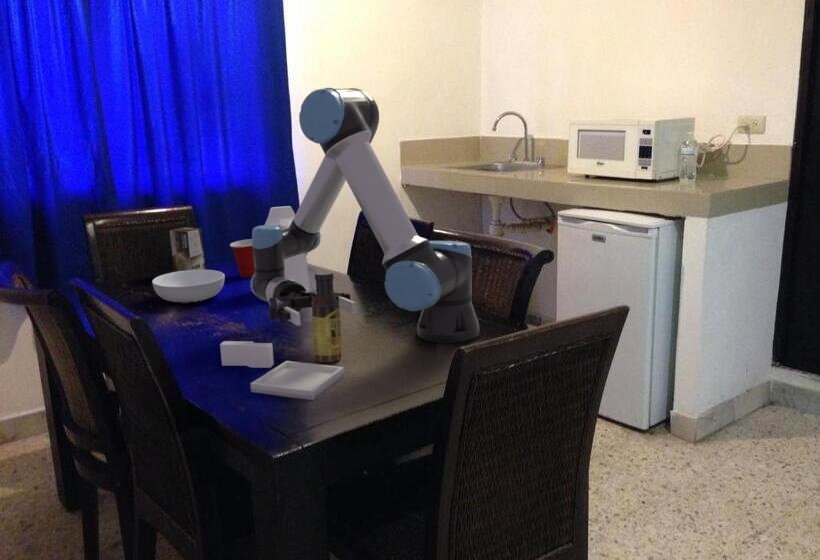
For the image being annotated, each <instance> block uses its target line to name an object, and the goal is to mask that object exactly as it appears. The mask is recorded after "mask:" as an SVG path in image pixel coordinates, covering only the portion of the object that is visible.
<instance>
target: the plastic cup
mask: <svg viewBox="0 0 820 560" xmlns="http://www.w3.org/2000/svg"><path fill="white" fill-rule="evenodd" d="M229 246H230V247H231V249H232V251H233V254H234V257H235V261H236V264H237V268H238V271H239V275H240V277H241V278H243V279H252V276H253V275H254V274H255V267H254V256H253V246H252V238H250V239H241V240H236V241H234V242H231V243H230V244H229Z"/></svg>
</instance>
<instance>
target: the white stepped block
mask: <svg viewBox="0 0 820 560" xmlns="http://www.w3.org/2000/svg"><path fill="white" fill-rule="evenodd" d="M219 347H220V348H219V349H220V358H221V366H222V367H224V366H226V367H228V366H232V367H233V366H237V367H239V366H240V367H241V366H242V367H244V366H246V367H248V368H254V369H255V368H259V369H260V368H261V369H262V368H265V369H266V368H267V369H269V368H270V369H271V368H272V366H274V364H275V361H274V348H273V343H272V342H271V343H270V342H269V343H268V342H255V341H252V340H251V341H247V340H245V341H244V340H242V341H241V340H240V341H235V340H223V341H222V342H221V343H220V344H219Z"/></svg>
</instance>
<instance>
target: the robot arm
mask: <svg viewBox="0 0 820 560" xmlns="http://www.w3.org/2000/svg"><path fill="white" fill-rule="evenodd" d="M298 115H299V116H298V117H299V119H298V120H299V126H300V130H301V132H302V133H303V135H304V137H306V139H308V140H309V141H310V142H313V143H315V144H317V145H319V146H320V147H321V149H322V151H323V153H324V156H323V158H322V161H321V163H320V165H319V166H318V168H317V171H316V173H315V175H314V177H313V179H312V180H311V183H310V185H309V187H308V189H307V191H306V192H305V194H304V196H303V198H302V201H301V203H300V205H299V207H298V209H297V211H296V213H295V217H294V219H293V221H292V222H291V224H290V226H289V228H286V229H283V230H282V228H281V227H280V226H279V225H265V224H264V225H258V226H254V227H253V229H252V232H251V236H252V238H251V239H252V246H253V256H254V267H255V274H254V275H253V276H252V278H250V284H249V286H250V290H251V292H252V293H253V295H255V297H257V298H258V299H259V300H261V301H263V302H267V303H268V304H269V309H268V310H269V320H272V321H274V320H276V318H278V322H279V323H283V322H285V321H288V322H290V323H292V324H294V325H295V326H301V324H302V323H301V313H300V312H299V311H301V310H302V309H306V308H312V302H313V299H314V298H315V296H316V294H317V293H316V291H310V292H308V291H306V289H305V288H304V287H303V286H302V285H301V284H300V283H297V282H295V281H293V280H290V279H288V278H285V265H284V259H287V258H290V257H293V256H297V255H300V254H305V253H306V254H307V253H311V251H315V249H317V248H318V247H319V246H320V243H321V237H322V236H321V232H320V231H321V228H322V226H323V225H324V223H325V221H326V219H327V217H328V215H329V213H330V212H331V209H332V208H333V206H334V204H335V202H336V200H337V199H338V196H339V195H340V192H341V191H342V188H344V185H345V183H347V185H348V186H349V188H350V191H351V192H352V195H353V196H354V197H355V200H356V202H357V204H358V205H359V208H360V210H361V212H362V213H363V215H364V216H365V219H366V221H367V222H368V225H369V227H370V229H371V231H372V233H373V234H374V236H375V238H376V240H377V242H378V243H379V245H380V247H381V250H382V251H383V254H384V255H383V259H382V262H381V264H382V266H383V268H384V270H385V276H384V278H385V281H384V288H385V289H384V290H385V291H386V294H387V296H388V297H389V299H390V300H391V301H392V303H394V304H395V305H396V306H397V307H399V308H401V309H403V310H407V311H410V312H418V311H421V313H420V317H419V320H418V322H417V336H418V337H419V338H420V339H422V340H424V341H427V342H431V343H437V344H439V343H440V344H455V342H458V343H464V342H467V341H466V340H469V341H472V340H474V339H476V338H478V336H479V335H480V323H479V320H478V318H477V315H476V312H475V311H476V310H475V308H474V305H473V301H472V300H473V298H472V297H473V295H472V291H473V289H472V288H473V287H472V283H473V282H472V280H473V279H472V277H473V276H472V273H473V272H472V268H473V267H472V263H473V262H472V260H473V256H472V249H471V245H470V244H468V243H466V242H463V241H453V240H429V239H428V238H425V237H421V236H420V235H418V233H417V231H416V229H415V227H414V225H413V223H412V222H411V219H410V218H409V216H408V214H407V212H406V210H405V208H404V206H403V204H402V202H401V200H400V199H399V197H398V195H397V193H396V191H395V189H394V187H393V185H392V184H391V181H390V180H389V178H388V175H387V174H386V171H385V170H384V168H383V166H382V164H381V163H380V161H379V158H378V156H377V155H376V153H375V151H374V149H373V146H372V145H371V143H372V142H373V139H374V138H375V135H376V133H377V130H378V128H379V123H380V111H379V106H378V104H377V102H376V100H375V99H374V97H373V96H372V95H371V94H370V93H368V92H367V91H365V90H363V89H360V88H357V87H351V88H333V87H325V88H319V89H316V90H313V91H311V92H310V93H309V94H307V96H306V97H305V98H304V100H303V101H302V102H301V105H300V111H299V114H298ZM334 294H335V296H336V299H337V301H338V304H339V306H340V310H342V311H344V312H347V313H349V314H351V315H356V313H357V312H356V301H353V300H351V293H345V292H336V291H334ZM471 339H472V340H471ZM463 341H464V342H463Z"/></svg>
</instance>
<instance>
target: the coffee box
mask: <svg viewBox="0 0 820 560" xmlns="http://www.w3.org/2000/svg"><path fill="white" fill-rule="evenodd" d="M202 233H203V231H202V228H199V227H196V228H195V227H178V228H174V229H169V237H170V247H171V254H172V255H171V256H172V263H173V272H178V271H187V270H206V265H205V264H206V263H205V255H204V245H203V235H202Z"/></svg>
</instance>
